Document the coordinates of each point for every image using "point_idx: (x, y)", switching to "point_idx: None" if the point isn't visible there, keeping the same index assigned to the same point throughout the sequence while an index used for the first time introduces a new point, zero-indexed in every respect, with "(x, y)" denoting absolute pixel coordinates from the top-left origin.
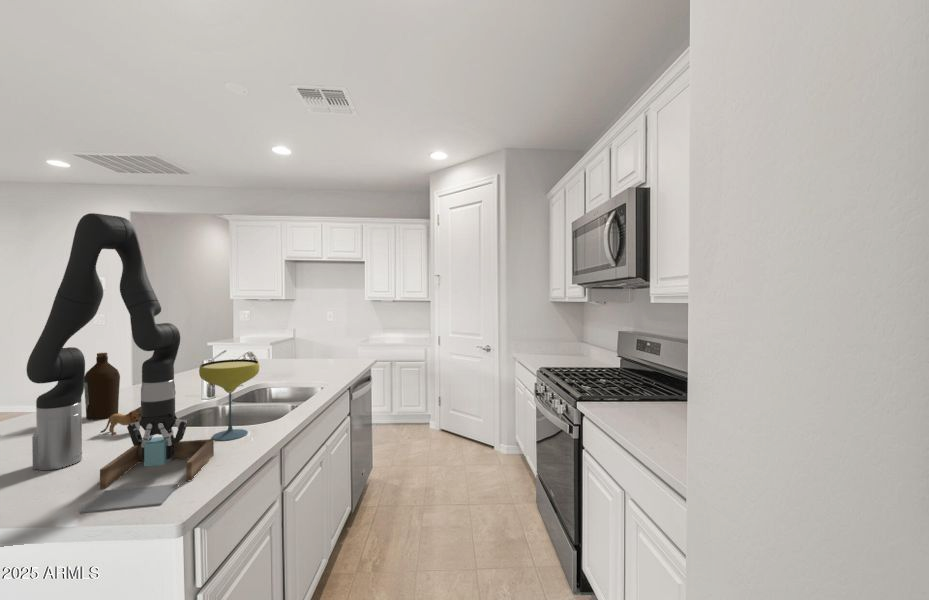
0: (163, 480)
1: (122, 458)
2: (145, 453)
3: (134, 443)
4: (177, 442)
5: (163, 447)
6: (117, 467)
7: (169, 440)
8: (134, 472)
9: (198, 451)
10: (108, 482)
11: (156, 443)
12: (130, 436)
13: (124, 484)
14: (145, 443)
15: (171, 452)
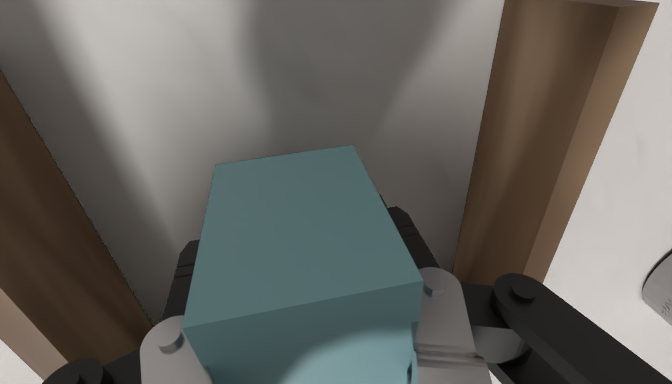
0: (196, 78)
1: (530, 226)
2: (375, 207)
3: (537, 293)
4: (70, 366)
5: (196, 273)
6: (523, 154)
7: (159, 380)
8: (428, 195)
9: (16, 321)
10: (514, 32)
11: (279, 307)
12: (654, 370)
13: (419, 46)
14: (419, 298)
15: (183, 268)
